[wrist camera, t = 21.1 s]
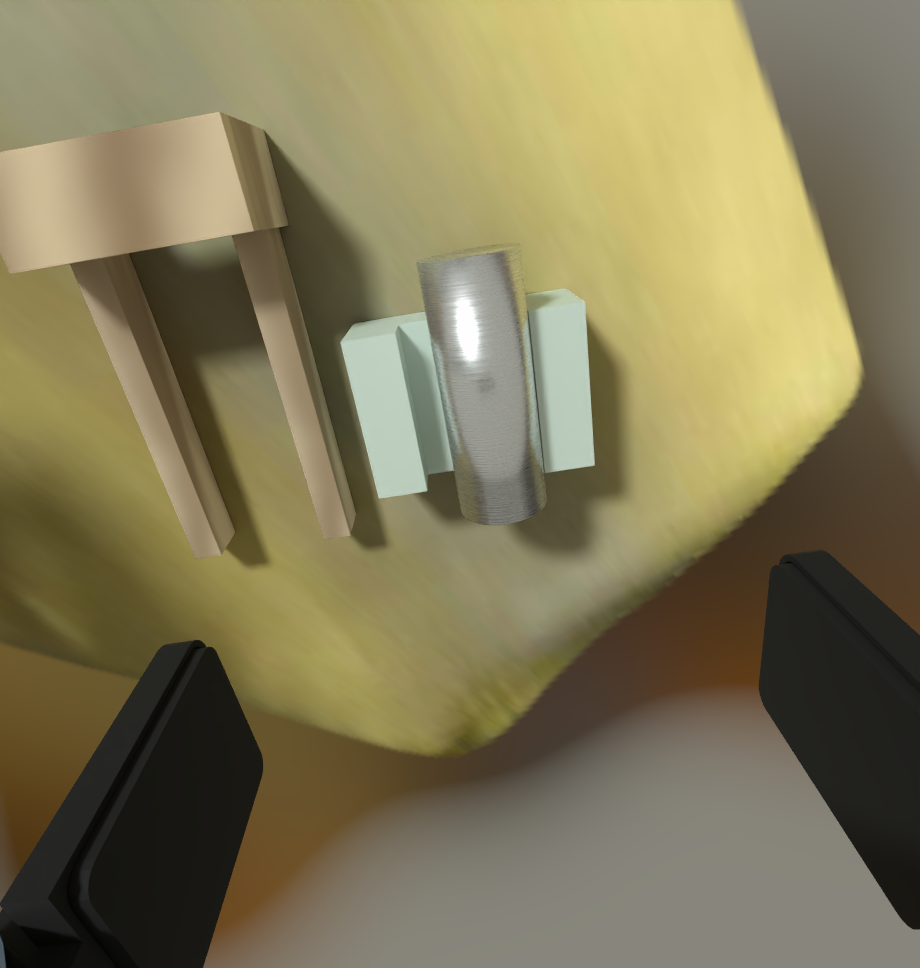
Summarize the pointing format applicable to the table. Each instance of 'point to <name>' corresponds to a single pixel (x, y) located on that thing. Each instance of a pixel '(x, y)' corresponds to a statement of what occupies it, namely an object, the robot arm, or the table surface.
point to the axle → (486, 380)
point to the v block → (417, 403)
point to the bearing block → (122, 303)
